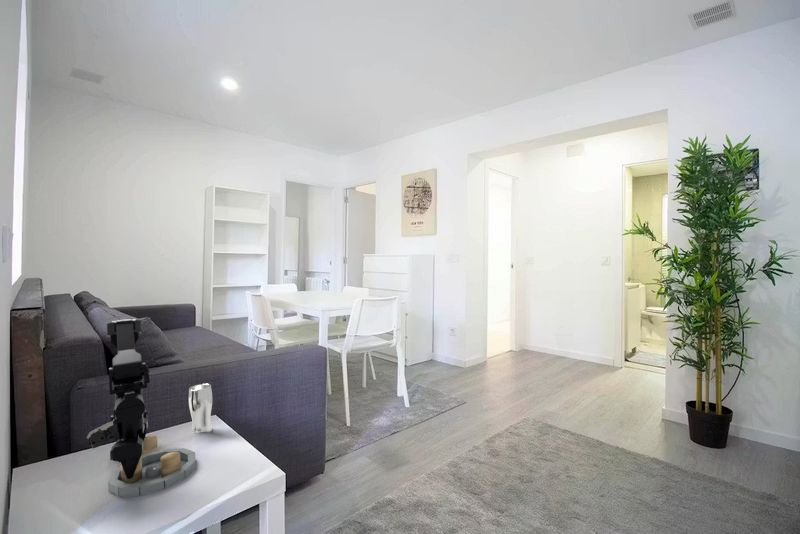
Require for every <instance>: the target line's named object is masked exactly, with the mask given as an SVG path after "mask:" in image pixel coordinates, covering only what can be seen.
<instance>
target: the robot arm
mask: <svg viewBox="0 0 800 534" xmlns="http://www.w3.org/2000/svg"><path fill="white" fill-rule="evenodd" d="M139 334H142V320H140V319H136V318H124V319H116V320H111V322H109V323H108V322H107V323H106V336H107V338H109V337H110V343H111V344H112V345H113V347H114V348H115V349H116V350H117V351H116V352H117V354H116V355H114V357H113V358H112V360H111V362H112V363H111V364H112V367H109V368H108V381H109V385H108V386H109V395H110V396H111V395H114V408H113V414H112V415H110V421H109V422H106V423H104V424H102V425H101V426H98V427H96V428H94V429H93V430H90V431H89V433H88V434H87V436H86V439H87V445H88V446H91V448H92V449H96V448H99V447H100V445H103V444H104V443H107V442H108V441H111V440H113V441H116V442H115V443H113V445H112V446H111V449H110V451H109V455H110V457H109V459H110V461H113V462H118V463H120V466H121V465H122V467H123V470H124V472H125V475H126V477H127V479H131V478H133V475H134V473H135V470H136V468H137V465H138V462H139V460H140V457H141V455H142V452H143V441H144V439H145V437H147V436H146V435H147V431H148V428H149V422H148V421H149V412H148V411H147V410H146V407H145V406H146V405H145V402H144V398H143V389H148V384H150V371H149V365H147V363H146V362H143V359H142V354H141V353H139V352H137V350H136V344H137V342H138V340H139V339H140V335H139ZM113 387H114V388H113Z"/></svg>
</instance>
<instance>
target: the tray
mask: <svg viewBox="0 0 800 534" xmlns="http://www.w3.org/2000/svg"><path fill="white" fill-rule="evenodd" d="M171 452H179V453H180V461H181V468H180V469H179V470H178V471H176V472H174V473H172V474H169V475H167V476H165V477H163V478H161V457H162V456H163V455H165V454H167V453H171ZM141 457H142V479H140V480H139V481H137V482H135V483H130V484H125V483H124V482H122V481H121V465H120V466H118V467H117V468H115V469H114V470H113V471H111V473H110V476H109V478H108V481H107V487H108V488H107V489H108V492H109V493H111V494H113V495H115V496H116V497H139V496H145V495H148V494H152V493H155V492H160V491H162V490H163V491H164V490H166V489H168V488H170V487H173V485H176V484H178V483H179V482H181V481H183V480H185V479H186V478H188V476H189V475H191V474H192V473H193V471H194V470H195V469H196V468H197V461H196V459H197V458H196V452H195V451H193V450H191V449H189V448H184V447H177V448H176V447H175V448H164V449H159V450H158V451H155V452H150V453H146V454H144V455H141Z"/></svg>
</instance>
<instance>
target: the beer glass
mask: <svg viewBox="0 0 800 534" xmlns="http://www.w3.org/2000/svg"><path fill="white" fill-rule="evenodd" d="M188 407H189V412H190V413H189V414H190V416H191V420H192V421H191V422H192V428H191V433H195V434H196V433H204V432H206V433H208V434H209V433H210V432H212V431H213V426H212V422H211V415H212V414H211V413H212V407H213V391H212V385H211V384H210V383H202V384H195V385H192V386H190V387H189V388H188Z"/></svg>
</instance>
